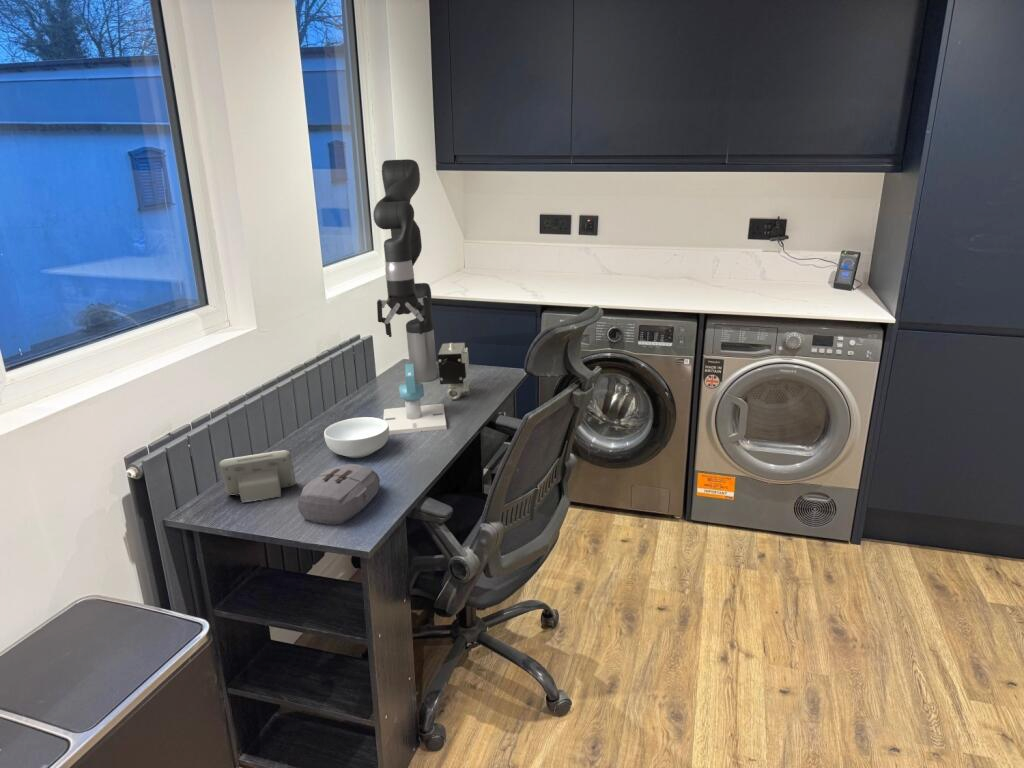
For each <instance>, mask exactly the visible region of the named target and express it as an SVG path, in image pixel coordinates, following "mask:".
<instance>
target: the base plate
mask: <svg viewBox="0 0 1024 768" xmlns="http://www.w3.org/2000/svg"><path fill="white" fill-rule="evenodd" d="M404 405H405V406H402V407H392V408H385V409H383V419H382V420H385V421H386V422H387V423H388V425H389V436H390V435H398V434H399V435H400V434H409V433H419V432H421V431H422V432H429V431H430V432H431V431H440V430H442V431H443V430H447V429H448V428H447V420H446V414H445V408H444V403H437V404H427V405H421V398H419V399H415V400H404ZM422 432H421V433H422Z"/></svg>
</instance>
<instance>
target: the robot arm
mask: <svg viewBox="0 0 1024 768" xmlns="http://www.w3.org/2000/svg"><path fill="white" fill-rule="evenodd" d="M381 176H382V182H383V189H384V193H385V195H384V196H383V197H382V198H381V199H380V200H379V201H378V202H377V203H376V204H375V207H374V209H373V221H374V223H375V225H376V226H377V227H378V228H380V229H381V230H390V236H391V237H389V238H387V239H385V240H384V242H383V251H384V252H383V253H384V260H385V262H384V263H385V269H384V270H385V281H386V289H387V299H380V298H379V299H377V301H376V310H377V322H378V323H382V324H384V327H385V334H386V336H388V338H392V325H391V320H392V319H393V317H394V316H395V314H396V315H398V316H401V315H409V314H411V313H412V315H414V317H415V318H413V319H410V320H408V321H407V322H406V324H405V330H406V341H407V352H408V362H409V363H408V364H413V365H414V375H415V382H417V383H423V382H430V381H434V380H435V379H437V378H438V367H437V355H436V344H435V333H434V331H435V330H434V323H433V310H432V307H433V306H432V305H433V304H432V301H433V300H432V289H431V286H430V284H429V283H426V282H419V283H418V282H417V283H415V273H414V265H415V263H416V262H417V260H418V259H419V257H420V255H421V253H422V247H423V246H422V236H421V229H420V227H419V225H418V223H417V222H416V221H415V210H414V209H415V208H414V207H413V205H412V204H411V200H412V197H413V196H414V195H415V194H416V193H417V191H418V189H419V187H420V184H421V173H420V167H419V163H418V162H417V161H416V160H414V159H408V158H407V159H406V158H405V159H388V160H384V161H383V162H382V165H381ZM386 305H387V306H388V307H389V308H390V311H389V312H388V314H387V316H386V317H384V316H383V309H384V308H385V306H386ZM420 311H421V312H422V313H420Z"/></svg>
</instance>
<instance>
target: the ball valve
mask: <svg viewBox="0 0 1024 768" xmlns="http://www.w3.org/2000/svg"><path fill="white" fill-rule="evenodd" d="M469 356H470V355H469V348H468V347H466V342H464V341H463V342H461V341H459V342H442V344H441V347H440V349H439V351H438V354H437V363H438V374H439V376H438V377H439V384H440V385H448V387H447V388H446V395H447V398H449V399H450V400H454V401H456V400H458V399H460V397H466V396H470V393H471V392H470V390H471V389H470V387H471V386H470V382H465V379H466V378H467V376H468V371H469V368H470V358H469Z"/></svg>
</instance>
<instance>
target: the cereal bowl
mask: <svg viewBox="0 0 1024 768" xmlns="http://www.w3.org/2000/svg"><path fill="white" fill-rule="evenodd" d="M323 436H324V440H325V444H326V445H327V448H329V449H330V450H331V451H332V452H333V453H334V454H335V453H336V455H340V456H344V457H347V458H351V459H361V458H364V457H365V458H366V457H368V456H370V455H372V454H373V453H374V452H376V451H379V449H381V448H383V446H385V444H386V443H387V441H388V439H389V436H390V435H389V425H388V423H387V422H386V421H385V420H383V419H382V418H379V417H372V416H371V417H369V416H365V417H364V416H361V417H352V418H348V419H343V420H341V421H336V422H335V423H332V424H330V425H329V426H328V427H326V428H325V430H324V432H323Z"/></svg>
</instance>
